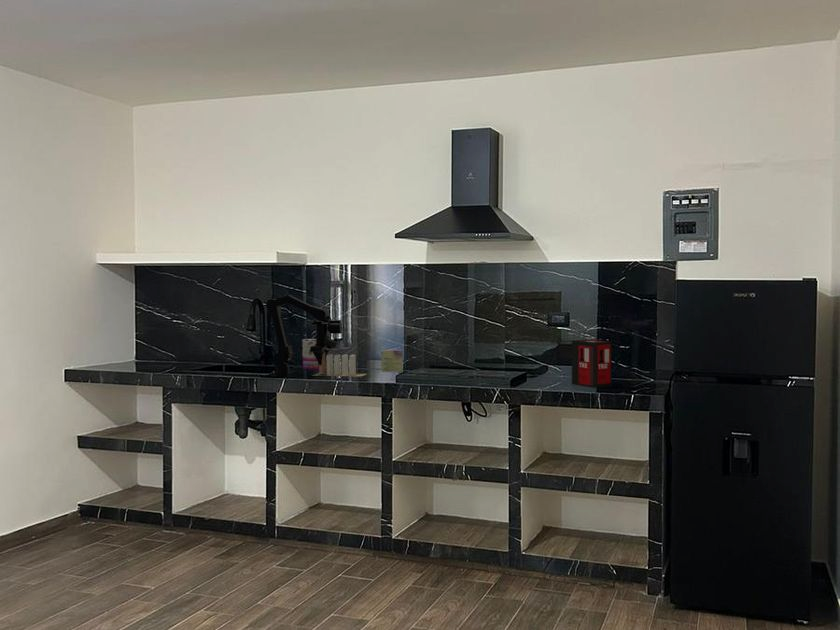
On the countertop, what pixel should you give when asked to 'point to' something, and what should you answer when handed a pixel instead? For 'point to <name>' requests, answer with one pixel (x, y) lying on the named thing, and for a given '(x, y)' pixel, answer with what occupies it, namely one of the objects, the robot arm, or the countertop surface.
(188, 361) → the countertop surface
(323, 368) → the domino
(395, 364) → the box
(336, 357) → the domino
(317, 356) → the robot arm
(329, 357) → the domino
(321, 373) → the domino board
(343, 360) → the domino
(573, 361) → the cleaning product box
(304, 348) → the candy bar box
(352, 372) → the domino
